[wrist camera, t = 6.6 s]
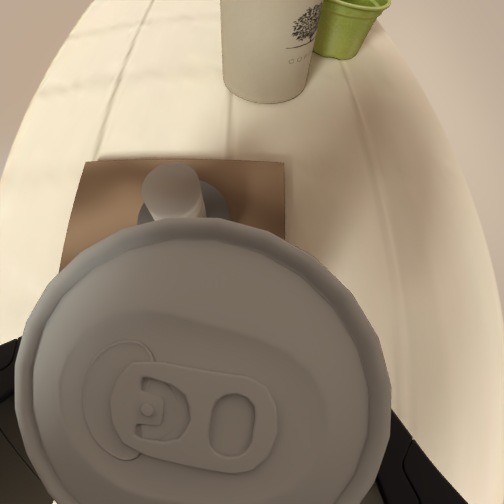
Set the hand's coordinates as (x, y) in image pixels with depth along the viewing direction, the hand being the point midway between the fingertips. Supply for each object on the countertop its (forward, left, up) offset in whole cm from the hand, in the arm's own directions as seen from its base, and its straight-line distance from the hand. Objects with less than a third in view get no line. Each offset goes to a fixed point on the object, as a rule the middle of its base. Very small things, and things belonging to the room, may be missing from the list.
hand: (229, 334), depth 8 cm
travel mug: (+11, +22, -13) cm, 28 cm away
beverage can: (-1, -1, -7) cm, 7 cm away
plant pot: (+21, +26, -13) cm, 36 cm away
